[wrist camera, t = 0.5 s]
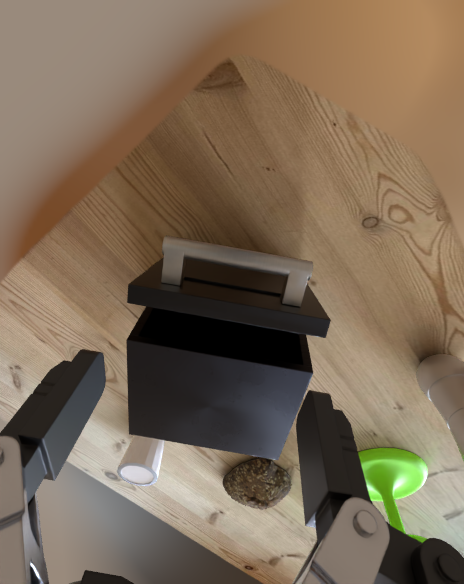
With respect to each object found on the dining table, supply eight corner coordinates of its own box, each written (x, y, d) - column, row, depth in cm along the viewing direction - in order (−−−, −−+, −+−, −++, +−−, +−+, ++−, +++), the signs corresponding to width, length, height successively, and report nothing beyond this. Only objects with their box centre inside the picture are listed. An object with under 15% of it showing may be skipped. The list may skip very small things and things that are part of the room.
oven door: (175, 218, 37) (131, 235, 23) (308, 242, 37) (344, 273, 23) (170, 262, 39) (126, 303, 25) (297, 285, 39) (325, 338, 25)
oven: (171, 263, 39) (126, 340, 26) (296, 285, 39) (313, 372, 26) (166, 342, 46) (128, 434, 33) (273, 361, 46) (278, 460, 33)
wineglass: (327, 492, 62) (349, 620, 47) (346, 443, 54) (379, 578, 38) (410, 501, 61) (460, 634, 46) (441, 452, 53) (515, 594, 38)
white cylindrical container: (131, 422, 56) (115, 460, 50) (168, 428, 56) (157, 467, 50) (132, 445, 60) (118, 483, 54) (168, 450, 59) (157, 489, 53)
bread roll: (214, 475, 62) (211, 502, 58) (257, 450, 57) (257, 478, 53) (261, 501, 66) (260, 528, 62) (305, 480, 61) (308, 509, 56)
